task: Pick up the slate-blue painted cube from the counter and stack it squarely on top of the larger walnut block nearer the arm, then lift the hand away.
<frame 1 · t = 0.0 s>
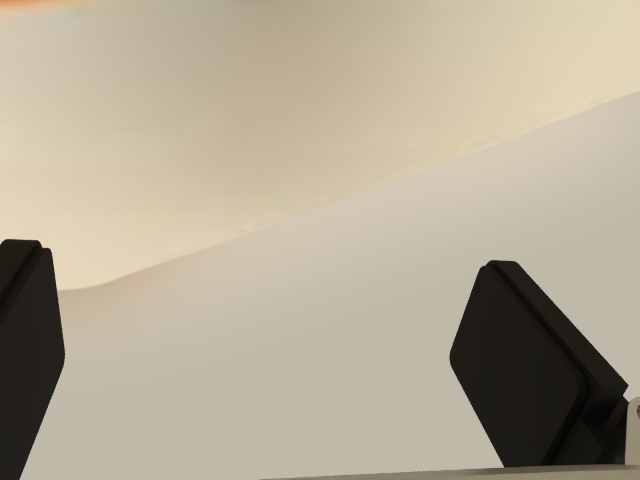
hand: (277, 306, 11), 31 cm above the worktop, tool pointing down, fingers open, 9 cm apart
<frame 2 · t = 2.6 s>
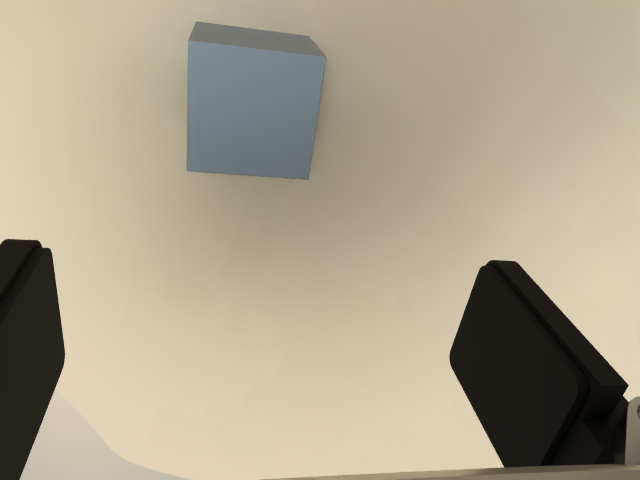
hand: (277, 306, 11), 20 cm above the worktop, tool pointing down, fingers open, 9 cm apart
slate cube: (249, 85, 29), on the worktop
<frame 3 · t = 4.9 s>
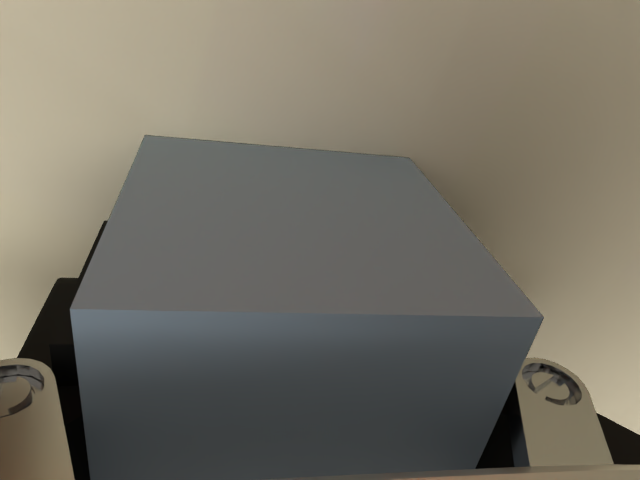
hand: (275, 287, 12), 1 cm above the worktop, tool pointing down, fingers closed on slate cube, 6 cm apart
slate cube: (271, 259, 13), on the worktop, touching gripper
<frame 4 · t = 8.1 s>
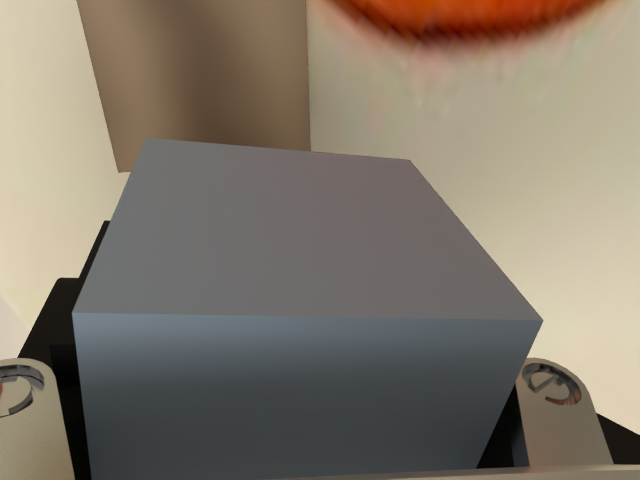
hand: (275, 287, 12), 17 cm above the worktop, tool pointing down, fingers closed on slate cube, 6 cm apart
walnut block: (206, 48, 25), on the worktop
slate cube: (271, 261, 13), point 16 cm above the worktop, touching gripper
when the fingers open (6 cm above the worktop, at t = 11.6 s): slate cube stays where it is, point 4 cm above the worktop.
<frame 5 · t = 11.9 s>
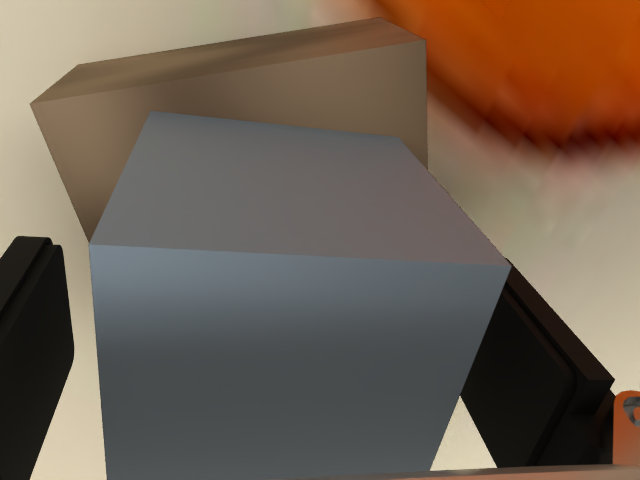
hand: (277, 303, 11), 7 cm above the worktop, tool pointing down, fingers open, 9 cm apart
walnut block: (259, 175, 18), on the worktop
slate cube: (267, 232, 14), point 4 cm above the worktop
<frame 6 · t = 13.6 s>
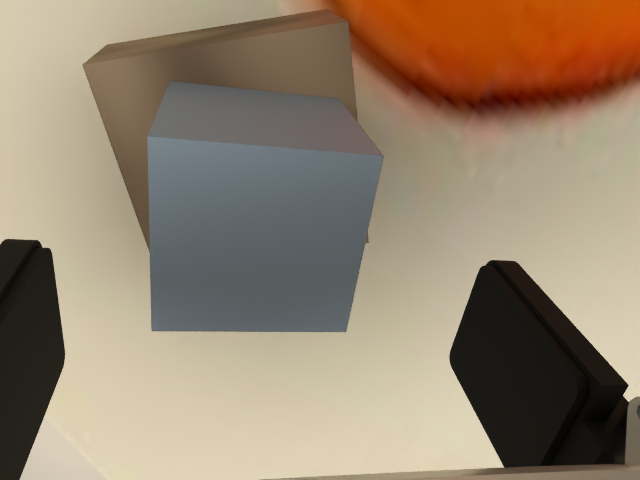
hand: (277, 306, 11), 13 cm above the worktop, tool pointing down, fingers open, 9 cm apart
walnut block: (241, 130, 23), on the worktop
slate cube: (251, 169, 19), point 4 cm above the worktop
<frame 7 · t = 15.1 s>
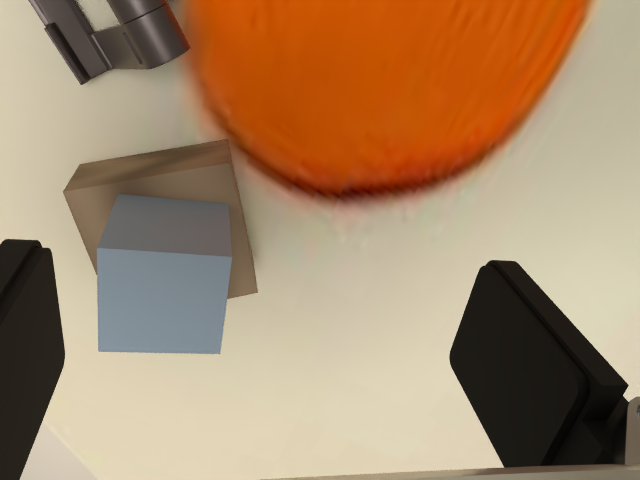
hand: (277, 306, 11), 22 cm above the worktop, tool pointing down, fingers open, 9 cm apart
walnut block: (173, 213, 34), on the worktop, touching slate cube
slate cube: (172, 245, 30), point 4 cm above the worktop, touching walnut block
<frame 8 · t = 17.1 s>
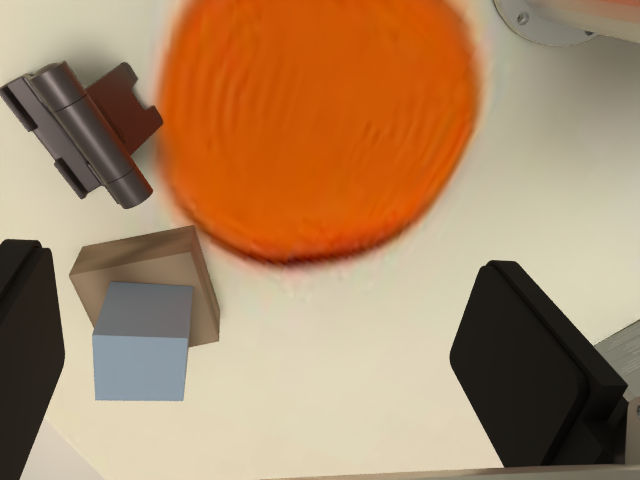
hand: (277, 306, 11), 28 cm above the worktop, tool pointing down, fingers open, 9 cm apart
portable electronic device stand: (97, 113, 36), on the worktop
walnut block: (155, 278, 43), on the worktop, touching slate cube
slate cube: (151, 314, 40), point 4 cm above the worktop, touching walnut block
skincare box: (622, 350, 58), on the worktop
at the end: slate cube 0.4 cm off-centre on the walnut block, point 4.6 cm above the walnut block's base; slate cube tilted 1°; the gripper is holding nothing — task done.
